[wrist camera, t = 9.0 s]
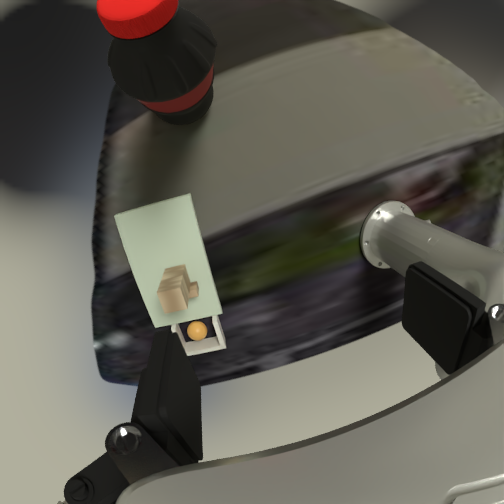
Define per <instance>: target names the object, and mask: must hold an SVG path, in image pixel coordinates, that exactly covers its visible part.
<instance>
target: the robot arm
mask: <svg viewBox="0 0 504 504" xmlns="http://www.w3.org/2000/svg"><path fill="white" fill-rule="evenodd" d="M376 212H377V213H376ZM360 243H361V249H362V252H363V255H364V256H365V258H366V259H367V260H368V261H369V262H370V263H371V264H372V265H374V266H375V267H378V268H383V269H385V268H393V269H394V270H396V271H397V272H398V273H400V274H401V275H402V276H404V277H405V292H404V304H403V314H402V326H403V328H404V329H405V330H406V331H407V332H408V333H409V334H410V335H411V337H412V338H413V339H414V340H415V341H416V342H417V343H418V344H419V345H420V346H421V347H422V348H423V349H424V350H425V351H426V352H427V353H428V354H429V355H430V356H431V357H432V358H433V360H434V361H435V368H436V371H437V374H438V376H439V377H440V379H441V381H439V382H437V383H436V384H434V385H432V386H431V387H429V388H427V389H425V390H424V391H421V392H419V393H418V394H416V395H414V396H412V397H410V398H408V399H406V400H404V401H402V402H400V403H398V404H396V405H394V406H392V407H390V408H387V409H385V410H383V411H381V412H379V413H376V414H374V415H372V416H370V417H367V418H365V419H362V420H360V421H357V422H355V423H352V424H350V425H348V426H344V427H342V428H339V429H336V430H333V431H330V432H328V433H325V434H321V435H318V436H315V437H312V438H309V439H306V440H302V441H299V442H295V443H292V444H288V445H284V446H280V447H276V448H272V449H268V450H264V451H259V452H255V453H250V454H246V455H240V456H235V457H230V458H223V459H217V460H212V461H207V462H200V463H198V461H199V460H202V459H203V450H202V421H201V387H200V383H199V380H198V378H197V376H196V374H195V372H194V369H193V367H192V365H191V363H190V361H189V358H188V356H187V354H186V352H185V349H184V347H183V345H182V343H181V340H180V338H179V335H178V333H177V332H172V331H171V330H170V329H168V330H163V331H158V332H155V335H154V339H153V344H152V348H151V352H150V356H149V361H148V365H147V368H144V369H143V370H142V372H141V376H140V380H139V384H138V389H137V393H136V398H135V403H134V408H133V413H132V418H131V422H126V423H122V424H119V425H117V426H115V427H114V428H113V429H112V430H111V431H110V432H109V433H108V435H107V437H106V440H105V447H106V450H107V452H106V453H105V454H103V455H102V456H101V457H99V458H98V459H97V460H95V461H94V462H92V463H91V464H90V465H88V466H87V467H86V468H84V469H83V470H81V471H80V472H79V473H77V474H76V475H74V476H73V477H72V478H70V479H69V480H68V482H67V483H66V485H65V489H64V497H65V501H64V502H61V501H59V502H58V503H57V504H504V252H502V251H498V250H495V249H491V248H488V247H485V246H482V245H480V244H477V243H475V242H473V241H470V240H468V239H465V238H463V237H461V236H459V235H456V234H454V233H452V232H450V231H447V230H445V229H443V228H440V227H438V226H436V225H433V224H431V222H430V220H426V221H424V220H421V219H419V218H416V217H415V216H414V214H413V212H412V211H411V209H410V208H409V207H408V206H406V205H405V204H403V203H401V202H398V201H386V202H383V203H381V204H379V205H378V206H376V207H375V208H374V209H373V210H372V211H371V212H370V213H369V215H368V216H367V218H366V220H365V222H364V224H363V227H362V230H361V237H360Z"/></svg>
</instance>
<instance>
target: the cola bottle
mask: <svg viewBox="0 0 504 504" xmlns="http://www.w3.org/2000/svg"><path fill="white" fill-rule="evenodd" d="M97 12H98V15H99V18H100V20H101V21H102V23H103V25H104V26H105V28H106V29H107V31H108V32H109V33H110V35H111V36H113V37H114V38H113V40H112V42H111V44H110V47H109V51H108V66H109V67H110V69H111V73H112V76H113V79H114V81H115V82H116V84H117V85H118V87H119V88H120V89H121V90H122V91H123V92H125V93H126V94H128V95H129V96H131V97H133V98H135V99H137V100H139V101H140V102H141V104H142V105H144V106H145V107H146V108H147V109H149V110H151V111H153V112H155V113H156V114H157V116H158V117H159V118H161V119H162V120H164V121H166V122H168V123H171V124H176V125H183V124H188V123H192V122H194V121H196V120H198V119H199V118H201V117H202V116H203V115H204V114H205V113H206V112H207V110H208V109H209V107H210V105H211V103H212V100H213V86H212V84H213V80H214V68H213V63H214V59H215V52H216V46H217V41H216V40H215V38H214V36H213V33H212V31H211V30H210V28H209V27H208V26H207V24H206V23H205V22H204V21H203V20H201V19H200V18H199V17H197V16H196V15H195V14H193V13H192V12H190V11H188V10H186V9H184V8H182V7H179V0H97Z"/></svg>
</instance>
